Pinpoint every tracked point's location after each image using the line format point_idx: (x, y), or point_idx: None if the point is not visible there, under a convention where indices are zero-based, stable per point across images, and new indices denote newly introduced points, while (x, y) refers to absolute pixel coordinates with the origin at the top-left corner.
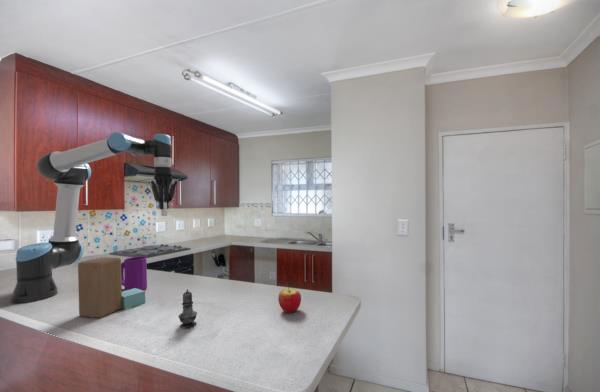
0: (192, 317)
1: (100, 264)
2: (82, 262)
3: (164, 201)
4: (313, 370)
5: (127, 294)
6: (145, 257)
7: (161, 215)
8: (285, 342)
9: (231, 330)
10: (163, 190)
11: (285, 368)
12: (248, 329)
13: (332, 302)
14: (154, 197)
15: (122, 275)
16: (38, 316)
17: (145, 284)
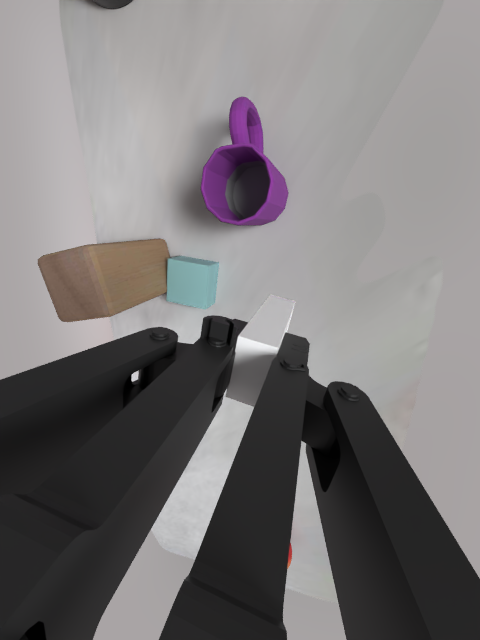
0: None
1: (66, 321)
2: (41, 270)
3: (273, 363)
4: (179, 553)
5: (177, 291)
6: (261, 208)
7: (268, 297)
8: (204, 533)
9: (200, 482)
10: (139, 547)
11: (171, 537)
12: (210, 498)
13: (328, 578)
14: (112, 347)
15: (250, 118)
16: (90, 167)
17: (269, 221)
